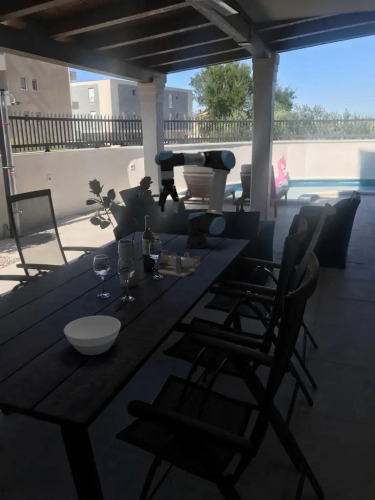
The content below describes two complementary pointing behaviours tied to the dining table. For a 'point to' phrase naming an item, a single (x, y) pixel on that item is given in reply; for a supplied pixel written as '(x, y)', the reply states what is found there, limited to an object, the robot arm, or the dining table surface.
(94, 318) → the bowl
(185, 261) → the tube
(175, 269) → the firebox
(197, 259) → the rack
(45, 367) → the dining table surface
